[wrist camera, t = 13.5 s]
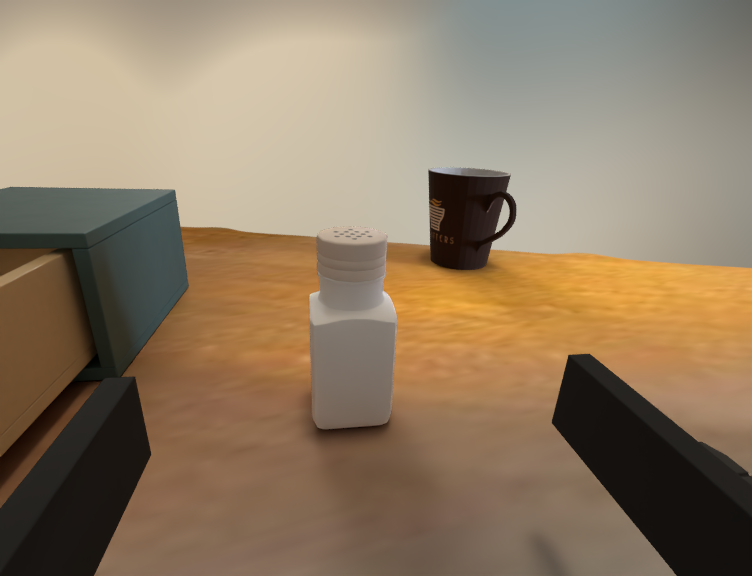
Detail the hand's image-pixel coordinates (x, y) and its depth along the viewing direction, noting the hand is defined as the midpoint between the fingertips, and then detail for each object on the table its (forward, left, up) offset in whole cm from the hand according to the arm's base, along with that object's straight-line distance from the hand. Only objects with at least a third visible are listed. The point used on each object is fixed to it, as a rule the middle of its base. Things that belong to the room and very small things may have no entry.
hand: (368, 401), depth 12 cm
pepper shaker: (+8, 0, -6) cm, 10 cm away
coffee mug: (+31, -15, -6) cm, 35 cm away
